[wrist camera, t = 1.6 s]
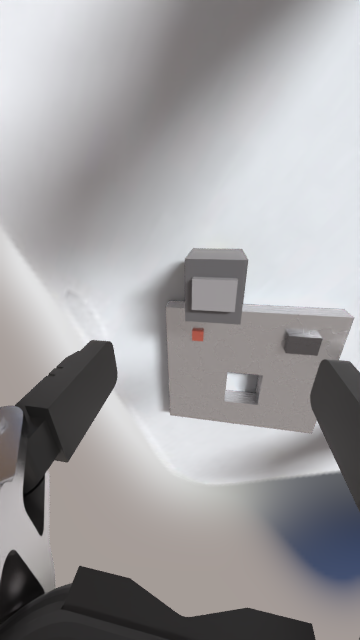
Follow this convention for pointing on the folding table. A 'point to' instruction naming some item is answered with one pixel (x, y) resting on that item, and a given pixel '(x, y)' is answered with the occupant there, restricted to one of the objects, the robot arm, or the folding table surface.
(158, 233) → the folding table surface
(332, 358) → the socket plate
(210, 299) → the plug
